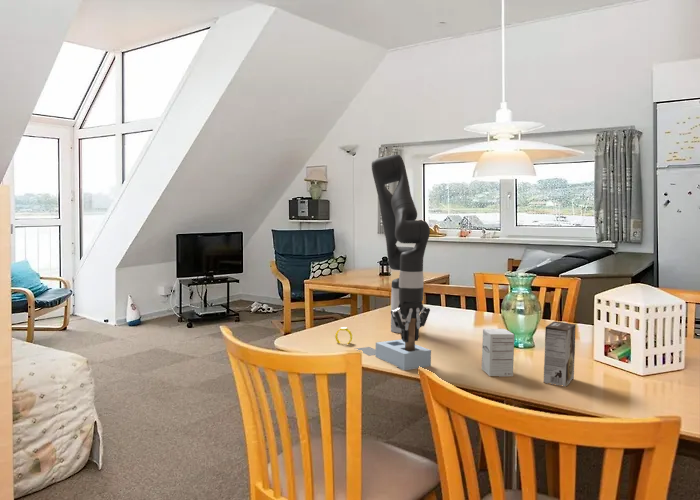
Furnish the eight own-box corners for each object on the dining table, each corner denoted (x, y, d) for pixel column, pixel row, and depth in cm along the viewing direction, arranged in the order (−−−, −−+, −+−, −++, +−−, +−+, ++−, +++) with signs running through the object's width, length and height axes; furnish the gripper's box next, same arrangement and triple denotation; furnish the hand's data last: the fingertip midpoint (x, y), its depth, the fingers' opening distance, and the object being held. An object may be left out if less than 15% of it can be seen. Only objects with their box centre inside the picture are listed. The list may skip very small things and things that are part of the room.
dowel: (410, 348, 178) (411, 316, 177) (416, 350, 176) (417, 318, 175) (403, 349, 177) (403, 317, 176) (408, 351, 174) (409, 319, 173)
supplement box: (480, 369, 172) (482, 328, 171) (504, 369, 173) (506, 328, 172) (488, 377, 165) (490, 333, 164) (513, 376, 166) (515, 333, 165)
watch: (334, 345, 202) (333, 328, 202) (337, 343, 205) (336, 327, 204) (350, 345, 200) (349, 328, 200) (353, 343, 203) (352, 327, 202)
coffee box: (551, 375, 167) (553, 320, 166) (574, 379, 164) (576, 323, 163) (542, 382, 160) (544, 326, 159) (566, 387, 156) (568, 329, 155)
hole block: (400, 354, 189) (401, 339, 189) (430, 366, 175) (431, 350, 175) (375, 357, 184) (375, 342, 184) (404, 370, 171) (404, 353, 170)
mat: (369, 347, 197) (369, 346, 197) (384, 354, 189) (384, 353, 189) (354, 349, 194) (354, 348, 194) (369, 356, 186) (369, 355, 186)
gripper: (422, 282, 181) (421, 336, 183) (385, 285, 174) (384, 340, 176) (437, 285, 175) (435, 341, 176) (399, 288, 168) (398, 346, 169)
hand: (409, 340), depth 176 cm, fingers closed on dowel, 3 cm apart
